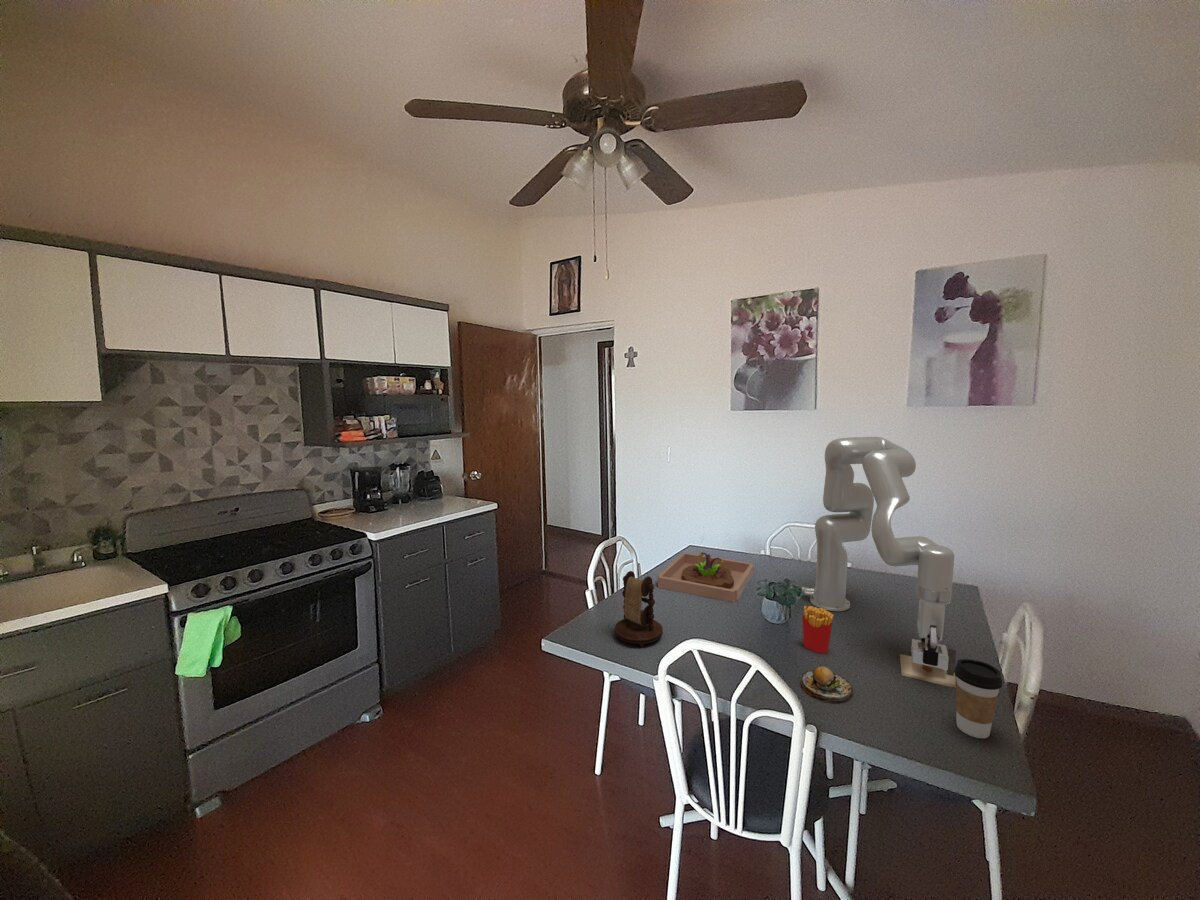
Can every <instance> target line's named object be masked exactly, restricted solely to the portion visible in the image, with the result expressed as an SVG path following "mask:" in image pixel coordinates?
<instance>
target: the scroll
mask: <svg viewBox="0 0 1200 900" xmlns="http://www.w3.org/2000/svg"><path fill="white" fill-rule="evenodd" d="M622 581H623V590H622V592H621V593H622V596H623V598H624V600H623V605H622V609H623V619H621V620H619V621H617V623H615V625H614V634H615V637H616V638H618V639H619V640H621V641H622V642H626V643H628V644H633V645H634V644H635V645H639V646H640V648H644V645H645V644H650V643H654V642H656V641H658V640H660V639H661V637H662V636H663V633H664V631H663V626H662V624H661V623H660V622H659V621H657V620H656V619H654V618H655V614H654V612H655V611H654V605H655V604H656V601H655V599H654V589H655V585H654V584H653V578H652V577H651V576H648V575H647V576H645V577H644V579H641V578H637V577H636V574H635V573H634V571H633V570H629V571H628V572H627V573H626V574H625V575H624V576H623V577H622ZM642 602H643V603H644V604H647V605H646V606H645V607H644V609H642Z"/></svg>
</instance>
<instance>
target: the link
mask: <svg viewBox="0 0 1200 900" xmlns="http://www.w3.org/2000/svg"><path fill="white" fill-rule="evenodd" d="M929 643H930V642H928V644H929ZM924 645H925V641H921V639H914V638H911V648H910V653H911V656H912V662H913V663H917V664H922V665H927V666H931V667H936V668H940V669H945V670H948V660H949V657H948V649H947V646H946V645H944V644H941V643H938V651H939V654H938V666H933V665H928V664H924V663H923V647H924Z"/></svg>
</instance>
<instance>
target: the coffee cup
mask: <svg viewBox="0 0 1200 900" xmlns="http://www.w3.org/2000/svg"><path fill="white" fill-rule="evenodd" d="M954 674H955V678H956V681H955V686H956V688H955V707H956V708H955V709H956V710H955V711H956V713H955V714H956V717H955V718H956V726H957V728H958V730H960V731H961V732H962V733H964V734H966V735H968V736H969V737H973V738H975V739H988V738H989V737H990V734H991V730H992V725H993V721H994V716H995V713H996V710H997V706H998V705H997V704H998V702H999V697H1000V689H1002V687H1003V679H1002V674H1001V671H1000V670H999V669H998V668H996V667H995V666H993V665H991V664H989V663H987V662H984V661H981V660H976V659H968V658H964V659H963V658H961V659H960V658H959V660H957V662H956V665H955V668H954Z"/></svg>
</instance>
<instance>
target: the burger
mask: <svg viewBox="0 0 1200 900" xmlns="http://www.w3.org/2000/svg"><path fill="white" fill-rule="evenodd" d="M800 685H801V687H802V690H803V691H804V693H807V694H808V695H809V696H810V697H813V698H814V699H816V700H817V701H821V702H823V703H828V704H839V703H843V702H847V701H850V700H851V699H852V698H853V693H854V692H853V691H854V690H853V686H852V685H851V683H850V682H849V681H848V680H847V679H846V678H844V677H843V676H841V675H840V674H837V673H834V672H832V670H831V669H829V668H828V667H825V666H821V665H819V667H817V668H815V669H811V670H808V671H804V673H803V674H801V680H800Z"/></svg>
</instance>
